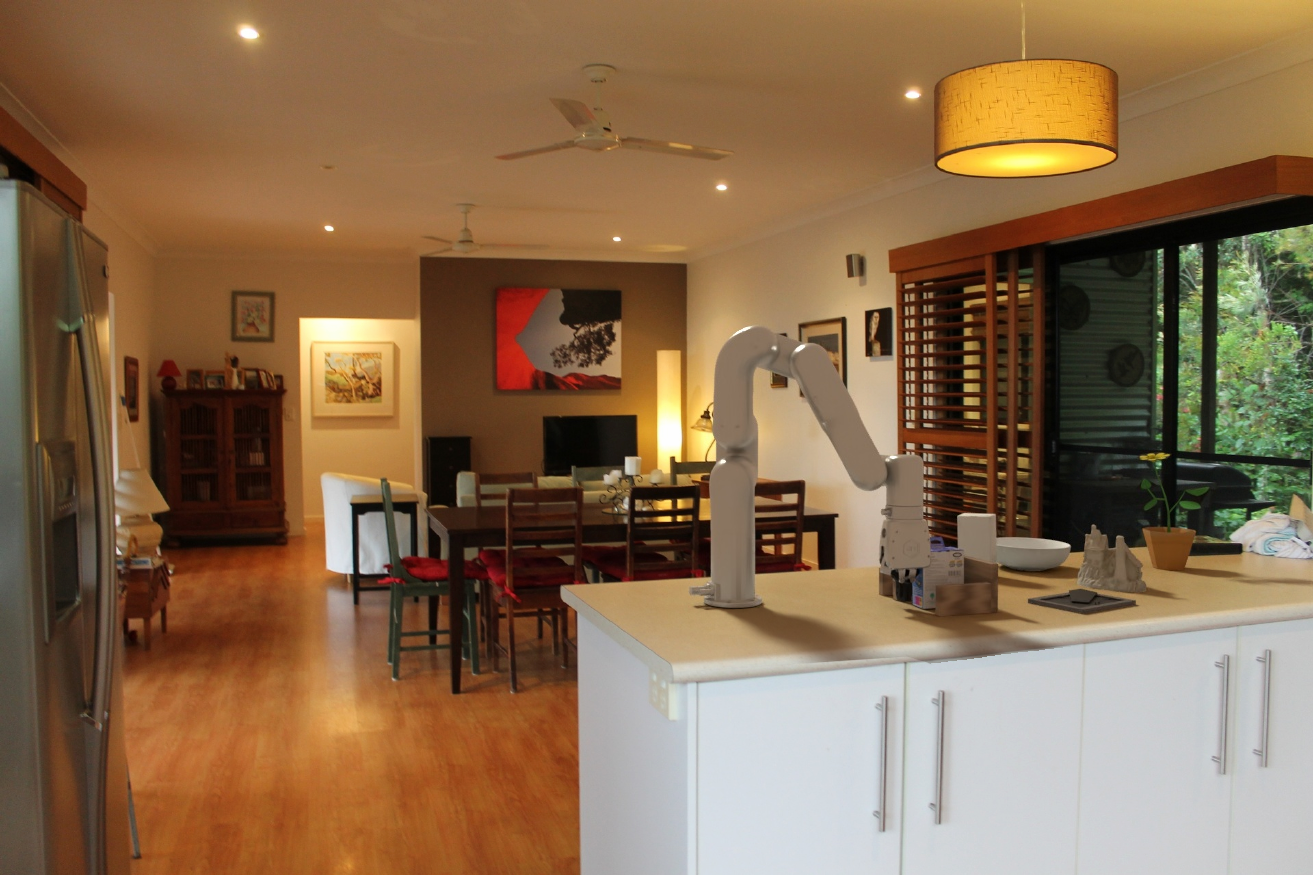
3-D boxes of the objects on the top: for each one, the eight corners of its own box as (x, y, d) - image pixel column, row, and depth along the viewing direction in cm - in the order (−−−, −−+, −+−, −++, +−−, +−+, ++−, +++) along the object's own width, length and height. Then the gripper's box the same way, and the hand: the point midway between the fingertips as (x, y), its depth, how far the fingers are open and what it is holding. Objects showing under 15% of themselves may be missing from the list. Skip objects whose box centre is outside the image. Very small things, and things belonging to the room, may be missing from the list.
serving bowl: (1047, 578, 243) (1047, 550, 243) (970, 568, 259) (970, 542, 258) (1084, 568, 257) (1085, 542, 257) (1009, 559, 273) (1009, 534, 272)
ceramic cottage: (1135, 593, 222) (1135, 527, 223) (1064, 587, 234) (1064, 523, 235) (1162, 589, 232) (1162, 525, 233) (1093, 583, 245) (1093, 522, 245)
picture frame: (1080, 597, 222) (1027, 605, 212) (1080, 588, 222) (1027, 596, 212) (1135, 607, 210) (1082, 617, 201) (1135, 598, 210) (1082, 607, 201)
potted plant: (1115, 563, 265) (1116, 452, 264) (1180, 562, 267) (1181, 451, 266) (1155, 574, 248) (1157, 455, 247) (1225, 573, 250) (1227, 454, 249)
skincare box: (997, 576, 246) (998, 513, 246) (991, 580, 240) (991, 516, 240) (963, 573, 251) (964, 512, 250) (956, 576, 245) (956, 514, 245)
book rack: (939, 616, 199) (940, 567, 199) (878, 594, 222) (879, 550, 222) (997, 612, 203) (998, 563, 203) (931, 590, 226) (932, 547, 226)
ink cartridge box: (951, 602, 213) (952, 535, 213) (965, 607, 208) (966, 539, 207) (910, 604, 211) (910, 537, 210) (923, 609, 205) (923, 540, 205)
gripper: (881, 516, 201) (880, 606, 201) (945, 514, 205) (945, 602, 205) (863, 512, 208) (863, 599, 208) (926, 510, 212) (925, 595, 213)
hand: (903, 600), depth 207 cm, fingers closed
